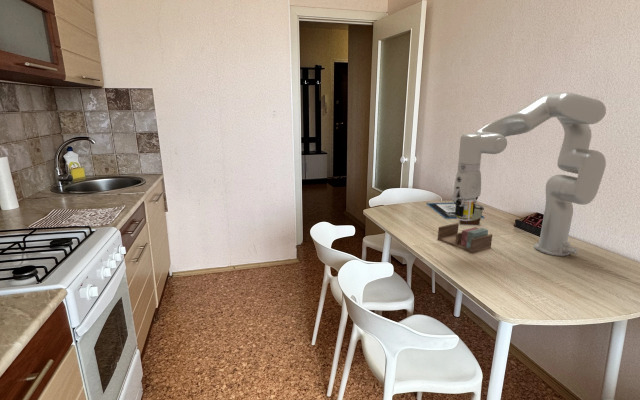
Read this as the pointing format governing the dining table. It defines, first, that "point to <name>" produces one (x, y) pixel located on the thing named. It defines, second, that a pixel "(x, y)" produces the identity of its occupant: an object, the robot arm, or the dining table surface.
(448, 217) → the sketchbook
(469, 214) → the supplement bottle
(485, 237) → the rack
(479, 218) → the food container
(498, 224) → the dining table surface
